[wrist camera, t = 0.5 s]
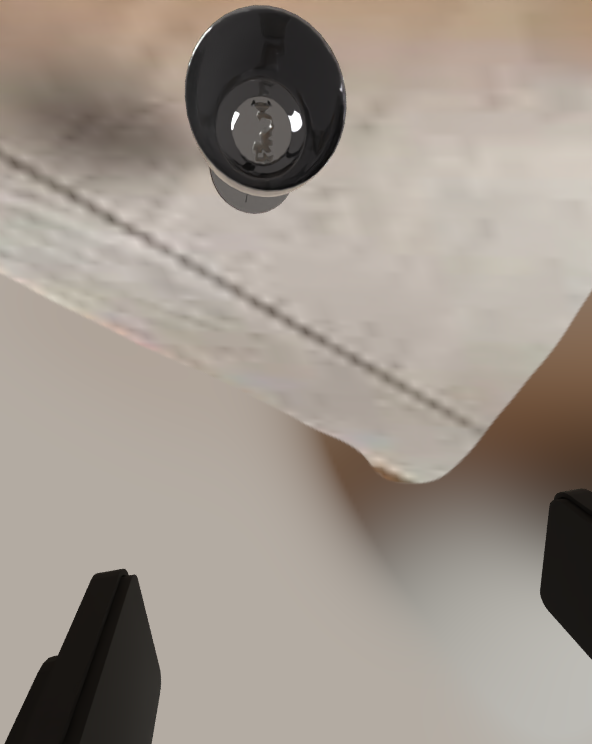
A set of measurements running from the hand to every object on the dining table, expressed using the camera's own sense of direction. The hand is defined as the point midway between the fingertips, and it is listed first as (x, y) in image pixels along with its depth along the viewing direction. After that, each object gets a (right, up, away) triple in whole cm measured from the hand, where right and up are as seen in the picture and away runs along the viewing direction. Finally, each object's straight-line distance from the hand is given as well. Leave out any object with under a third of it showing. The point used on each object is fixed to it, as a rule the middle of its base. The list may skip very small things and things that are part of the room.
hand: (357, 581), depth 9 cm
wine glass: (-5, +22, +25) cm, 34 cm away
